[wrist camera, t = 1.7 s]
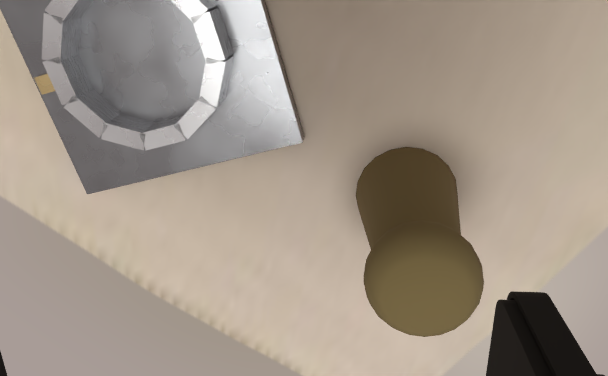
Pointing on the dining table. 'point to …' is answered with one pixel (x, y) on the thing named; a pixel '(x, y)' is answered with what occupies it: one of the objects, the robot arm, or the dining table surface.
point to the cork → (416, 244)
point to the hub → (156, 83)
